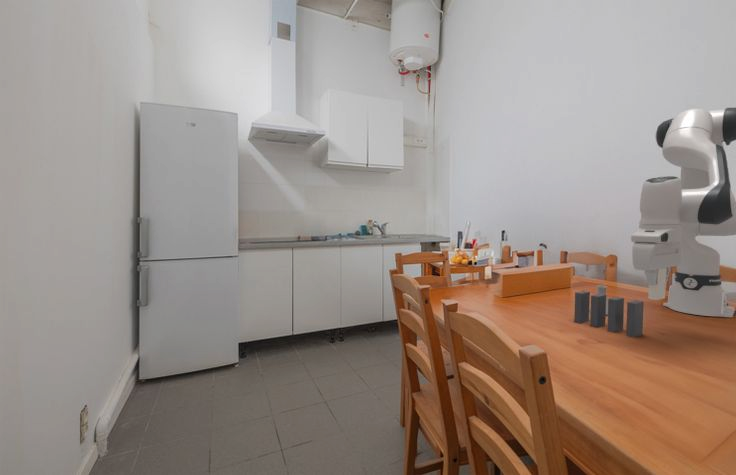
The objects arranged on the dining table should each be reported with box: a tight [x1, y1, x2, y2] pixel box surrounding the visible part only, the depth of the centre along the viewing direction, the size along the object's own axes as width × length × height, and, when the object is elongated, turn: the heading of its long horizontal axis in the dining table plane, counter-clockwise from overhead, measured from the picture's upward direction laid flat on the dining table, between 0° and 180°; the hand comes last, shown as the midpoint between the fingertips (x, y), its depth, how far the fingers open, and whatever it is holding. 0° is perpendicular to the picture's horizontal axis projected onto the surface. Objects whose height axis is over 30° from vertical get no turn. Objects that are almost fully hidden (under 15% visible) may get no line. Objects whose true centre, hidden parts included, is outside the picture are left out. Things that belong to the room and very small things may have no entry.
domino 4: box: [625, 299, 645, 338], centre depth 98 cm, size 2×5×10 cm, turn 118°
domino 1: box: [573, 290, 591, 324], centre depth 111 cm, size 2×5×10 cm, turn 118°
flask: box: [589, 285, 609, 316], centre depth 120 cm, size 7×7×10 cm
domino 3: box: [606, 296, 625, 333], centre depth 102 cm, size 2×5×10 cm, turn 118°
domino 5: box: [647, 268, 667, 301], centre depth 92 cm, size 2×5×10 cm, turn 118°
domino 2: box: [589, 293, 607, 329], centre depth 106 cm, size 2×5×10 cm, turn 118°
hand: (657, 283), depth 93 cm, fingers closed on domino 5, 5 cm apart
